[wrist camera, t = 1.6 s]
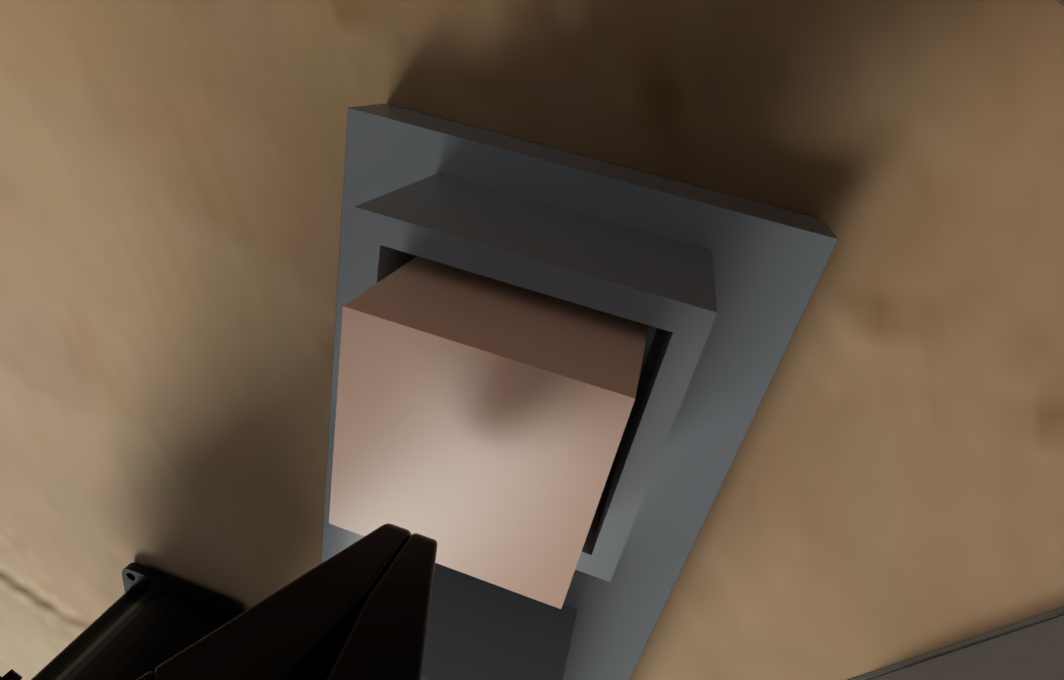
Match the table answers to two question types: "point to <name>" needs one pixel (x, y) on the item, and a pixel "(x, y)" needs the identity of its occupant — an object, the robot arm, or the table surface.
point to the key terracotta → (480, 421)
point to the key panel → (606, 285)
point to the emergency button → (991, 655)
